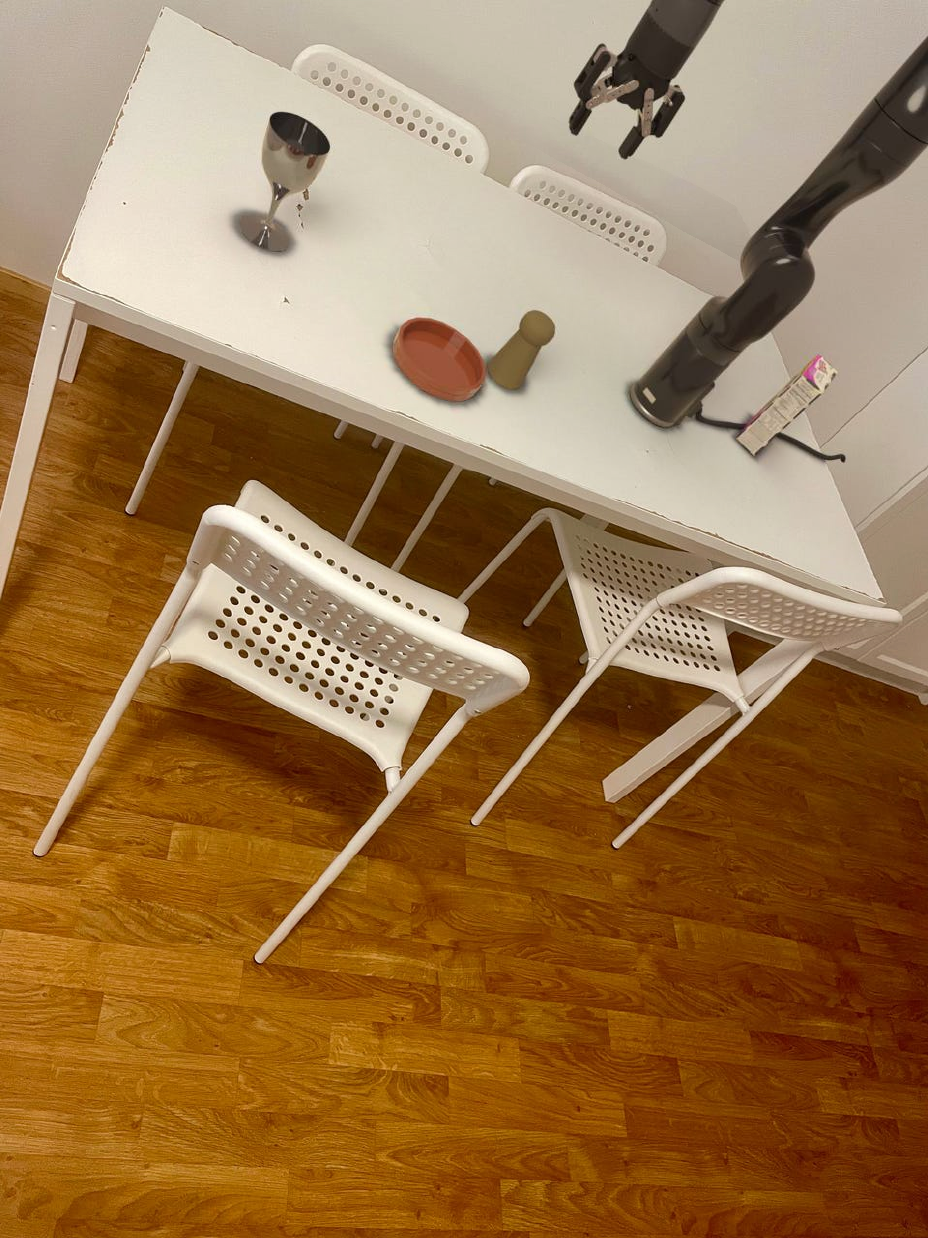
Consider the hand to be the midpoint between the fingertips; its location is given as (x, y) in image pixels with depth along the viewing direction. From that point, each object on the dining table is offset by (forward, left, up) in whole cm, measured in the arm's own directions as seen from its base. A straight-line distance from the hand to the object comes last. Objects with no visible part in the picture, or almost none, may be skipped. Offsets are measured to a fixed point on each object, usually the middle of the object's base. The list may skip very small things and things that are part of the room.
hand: (597, 143), depth 116 cm
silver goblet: (+38, +2, -28) cm, 47 cm away
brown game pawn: (+2, +17, -28) cm, 33 cm away
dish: (+14, +19, -28) cm, 37 cm away
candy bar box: (-52, +14, -28) cm, 61 cm away
